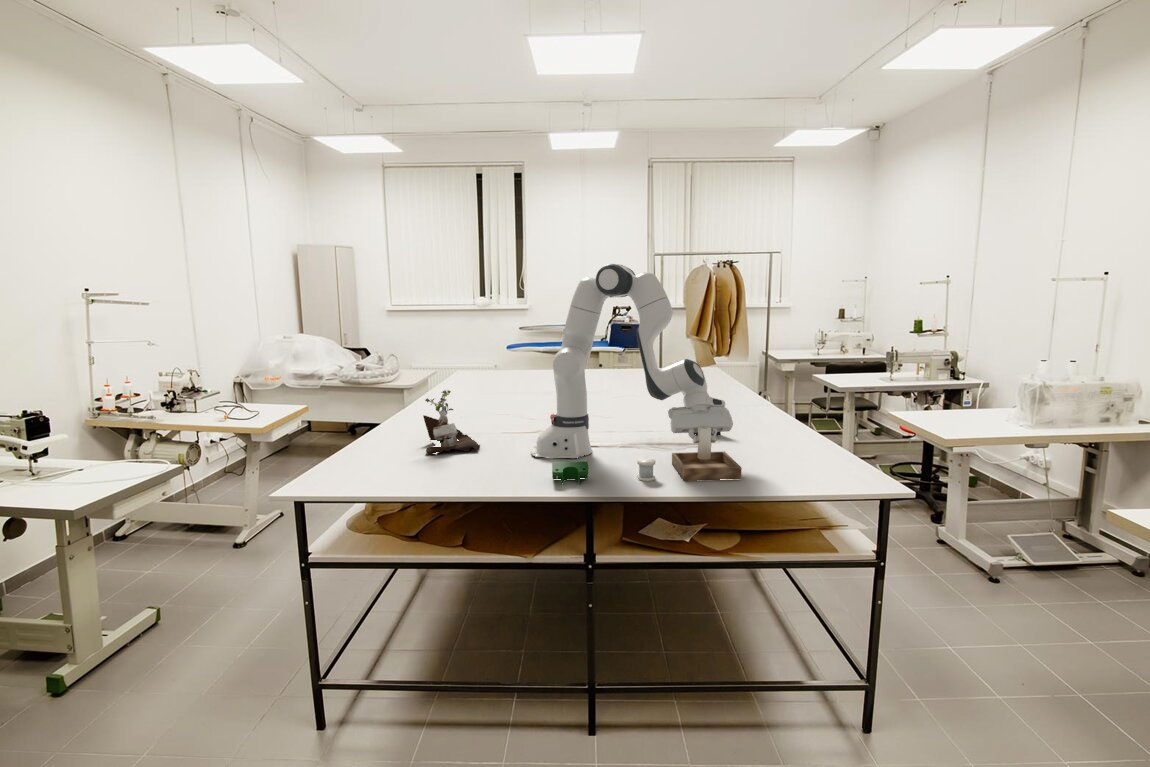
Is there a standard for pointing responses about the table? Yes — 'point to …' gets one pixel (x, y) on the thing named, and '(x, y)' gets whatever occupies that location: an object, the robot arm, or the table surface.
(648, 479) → the small spool
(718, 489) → the table surface
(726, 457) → the tray
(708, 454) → the grey tall block
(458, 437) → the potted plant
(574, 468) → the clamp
